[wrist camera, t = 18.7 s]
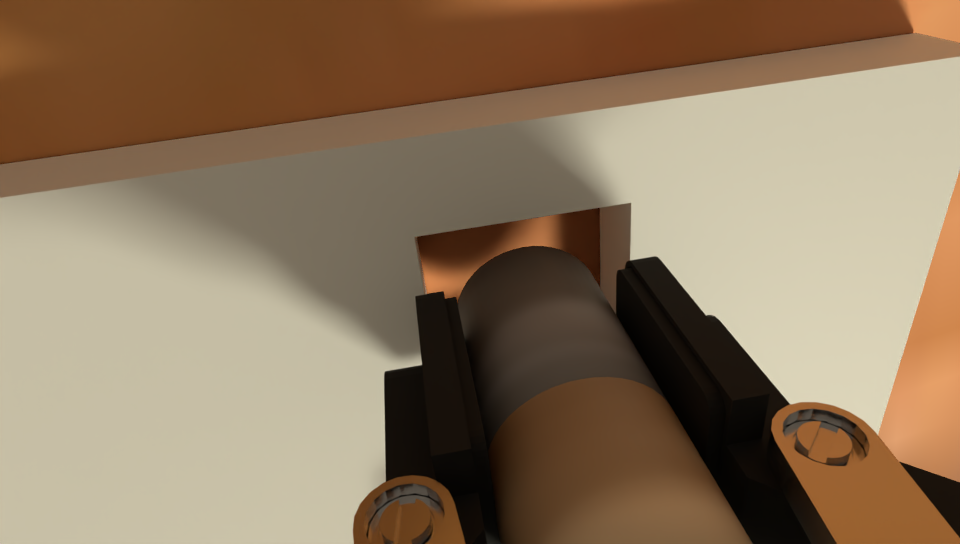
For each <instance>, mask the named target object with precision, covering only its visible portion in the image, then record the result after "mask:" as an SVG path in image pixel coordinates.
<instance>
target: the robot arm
mask: <svg viewBox="0 0 960 544" xmlns="http://www.w3.org/2000/svg"><path fill="white" fill-rule="evenodd" d="M415 301H416V311H417V321H418V330H419V340H420V350H421V360H422V365H419V366H413V367H407V368H402V369H396V370H390V371H385V373H384V406H385V463H386V482H384V483H382V484H381V485H379V486H378V487H377V488H375V489H374V490H372V491H371V492H370V493H369V494H368V495H367V496H366V497H365V499H364V500H363V501H362V502H361V503H360V505H359V507H358V509H357V512H356V514H355V516H354V523H353V540H354V544H500V539H499V534H498V529H497V524H496V508H495V501H494V494H493V487H492V479H491V472H490V465H489V458H488V452H487V446H486V440H485V435H484V429H483V425H482V420H481V415H480V410H479V405H478V401H477V396H476V391H475V386H474V381H473V376H472V372H471V367H470V362H469V357H468V352H467V348H466V343H465V338H464V333H463V328H462V323H461V319H460V314H459V309H458V304H457V299H456V297H453V298H447V299H445V297H444V292H437V293H431V294H425V295H419V296H415ZM616 315H617V317H618V319H619V320H620V322H621V324H622V325H623V327H624V329H625V330H626V332H627V334H628V335H629V337H630V339H631V340H632V342H633V344H634V345H635V347H636V349H637V350H638V352H639V354H640V355H641V357H642V359H643V360H644V362H645V364H646V366H647V367H648V369H649V371H650V372H651V374H652V376H653V377H654V379H655V381H656V382H657V384H658V386H659V387H660V389H661V391H662V392H663V394H664V396H665V397H666V399H667V401H668V402H669V404H670V406H671V407H672V409H673V411H674V412H675V414H676V416H677V418H678V419H679V421H680V423H681V424H682V426H683V428H684V429H685V431H686V433H687V434H688V436H689V438H690V439H691V441H692V443H693V444H694V446H695V448H696V449H697V451H698V453H699V454H700V456H701V458H702V459H703V461H704V463H705V464H706V466H707V468H708V469H709V471H710V473H711V475H712V476H713V478H714V480H715V481H716V483H717V485H718V486H719V488H720V490H721V491H722V493H723V495H724V496H725V498H726V500H727V501H728V503H729V505H730V506H731V508H732V510H733V511H734V513H735V515H736V516H737V518H738V520H739V521H740V523H741V525H742V527H743V528H744V530H745V532H746V533H747V535H748V537H749V538H750V540H751V542H752V543H753V544H960V482H957V481H954V480H951V479H948V478H945V477H942V476H939V475H936V474H934V473H931V472H928V471H925V470H922V469H919V468H916V467H913V466H910V465H908V464H905V463H902V462H899V461H898V460H897V459H896V457H895V456H894V455H893V454H892V452H891V451H890V450H889V449H888V447H887V446H886V445H885V444H884V442H883V441H882V440H881V439H880V437H879V436H878V435H877V434H876V432H875V431H874V430H873V429H872V428H871V427H870V426H869V425H868V424H867V423H866V422H865V421H864V420H862V419H860V418H859V417H857V416H856V415H854V414H852V413H851V412H849V411H846V410H844V409H841V408H839V407H836V406H833V405H829V404H824V403H818V402H799V403H795V404H791V405H790V403H789V402H788V401H787V400H786V399H785V397H784V396H783V395H782V394H781V393H780V391H779V390H778V389H777V388H776V387H775V386H774V384H773V383H772V382H771V381H770V380H769V378H768V377H767V376H766V375H765V374H764V372H763V371H762V370H761V369H760V368H759V366H758V365H757V364H756V363H755V362H754V361H753V359H752V358H751V357H750V356H749V355H748V353H747V352H746V351H745V350H744V349H743V347H742V346H741V345H740V344H739V343H738V341H737V340H736V339H735V338H734V337H733V335H732V334H731V333H730V332H729V331H728V330H727V328H726V327H725V326H724V325H723V324H722V322H721V321H720V320H719V319H718V318H716V317H715V316H713V315H705V314H704V312H703V311H702V310H701V309H700V307H699V306H698V305H697V304H696V303H695V301H694V300H693V299H692V298H691V296H690V295H689V294H688V293H687V292H686V290H685V289H684V288H683V287H682V285H681V284H680V283H679V282H678V281H677V279H676V278H675V277H674V276H673V274H672V273H671V272H670V271H669V269H668V268H667V267H666V266H665V265H664V263H663V262H662V261H661V260H660V259H659V258H658V257H657V256H654V257H648V258H641V259H635V260H629V261H627V262H626V265H625V269H621V270H618V271H617V274H616Z"/></svg>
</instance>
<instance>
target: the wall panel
mask: <svg viewBox="0 0 960 544" xmlns="http://www.w3.org/2000/svg"><path fill="white" fill-rule="evenodd" d="M959 170H960V43H958V42H954V41H950V40H945V39H941V38H936V37H932V36H928V35H923V34H919V33H911V34H905V35H898V36H891V37H884V38H877V39H870V40H863V41H856V42H849V43H842V44H835V45H828V46H821V47H814V48H807V49H800V50H793V51H786V52H779V53H772V54H765V55H758V56H751V57H745V58H738V59H731V60H724V61H717V62H710V63H703V64H696V65H689V66H682V67H675V68H668V69H661V70H654V71H647V72H640V73H633V74H626V75H619V76H612V77H605V78H598V79H591V80H584V81H578V82H571V83H564V84H557V85H550V86H543V87H536V88H529V89H522V90H515V91H508V92H501V93H494V94H487V95H480V96H473V97H466V98H459V99H452V100H445V101H438V102H431V103H424V104H418V105H411V106H404V107H397V108H390V109H383V110H376V111H369V112H362V113H355V114H348V115H341V116H334V117H327V118H320V119H313V120H306V121H299V122H292V123H285V124H278V125H271V126H264V127H257V128H251V129H244V130H237V131H230V132H223V133H216V134H209V135H202V136H195V137H188V138H181V139H174V140H167V141H160V142H153V143H146V144H139V145H132V146H125V147H118V148H111V149H104V150H97V151H91V152H84V153H77V154H70V155H63V156H56V157H49V158H42V159H35V160H28V161H21V162H14V163H7V164H0V544H354V540H353V523H354V516H355V514H356V512H357V509H358V507H359V505H360V503H361V502H362V501H363V500H364V499H365V497H366V496H367V495H368V494H369V493H370V492H371V491H372V490H374V489H375V488H377V487H378V486H379V485H381V484H382V483H384V482H386V463H385V406H384V373H385V371H390V370H396V369H402V368H407V367H413V366H419V365H422V360H421V350H420V340H419V330H418V321H417V311H416V301H415V296H419V295H425V294H427V292H426V286H425V280H424V275H423V269H422V263H421V258H420V252H419V246H418V241H417V237H418V236H424V235H430V234H437V233H443V232H449V231H456V230H462V229H468V228H474V227H481V226H487V225H493V224H500V223H506V222H512V221H519V220H525V219H531V218H538V217H544V216H550V215H556V214H563V213H569V212H575V211H582V210H588V209H594V208H600V288H601V290H602V292H603V293H604V295H605V297H606V298H607V300H608V302H609V303H610V305H611V307H612V309H613V310H614V312H615V314H616V274H617V271H618V270H621V269H625V265H626V262H627V261H629V260H635V259H641V258H648V257H654V256H657V257H658V258H659V259H660V260H661V261H662V262H663V263H664V265H665V266H666V267H667V268H668V269H669V271H670V272H671V273H672V274H673V276H674V277H675V278H676V279H677V281H678V282H679V283H680V284H681V285H682V287H683V288H684V289H685V290H686V292H687V293H688V294H689V295H690V296H691V298H692V299H693V300H694V301H695V303H696V304H697V305H698V306H699V307H700V309H701V310H702V311H703V312H704V314H705V315H713V316H715V317H716V318H718V319H719V320H720V321H721V322H722V324H723V325H724V326H725V327H726V328H727V330H728V331H729V332H730V333H731V334H732V335H733V337H734V338H735V339H736V340H737V341H738V343H739V344H740V345H741V346H742V347H743V349H744V350H745V351H746V352H747V353H748V355H749V356H750V357H751V358H752V359H753V361H754V362H755V363H756V364H757V365H758V366H759V368H760V369H761V370H762V371H763V372H764V374H765V375H766V376H767V377H768V378H769V380H770V381H771V382H772V383H773V384H774V386H775V387H776V388H777V389H778V390H779V391H780V393H781V394H782V395H783V396H784V397H785V399H786V400H787V401H788V402H789V403H790V405H791V404H795V403H799V402H818V403H824V404H829V405H833V406H836V407H839V408H841V409H844V410H846V411H849V412H851V413H852V414H854V415H856V416H857V417H859V418H860V419H862V420H864V421H865V422H866V423H867V424H868V425H869V426H870V427H871V428H872V429H873V430H874V431H875V432H876V434H877V435H878V432H879V429H880V426H881V423H882V419H883V416H884V413H885V410H886V406H887V403H888V400H889V397H890V394H891V390H892V387H893V384H894V381H895V377H896V374H897V371H898V368H899V364H900V361H901V358H902V355H903V351H904V348H905V345H906V342H907V339H908V335H909V332H910V329H911V326H912V322H913V319H914V316H915V313H916V309H917V306H918V303H919V300H920V297H921V293H922V290H923V287H924V284H925V280H926V277H927V274H928V271H929V267H930V264H931V261H932V258H933V254H934V251H935V248H936V245H937V242H938V238H939V235H940V232H941V229H942V225H943V222H944V219H945V216H946V212H947V209H948V206H949V203H950V199H951V196H952V193H953V190H954V187H955V183H956V180H957V177H958V174H959Z"/></svg>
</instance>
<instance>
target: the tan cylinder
mask: <svg viewBox="0 0 960 544" xmlns="http://www.w3.org/2000/svg"><path fill="white" fill-rule="evenodd" d="M458 309H459V314H460V319H461V323H462V328H463V333H464V338H465V343H466V348H467V352H468V357H469V362H470V367H471V372H472V376H473V381H474V386H475V391H476V396H477V401H478V405H479V410H480V415H481V420H482V425H483V429H484V435H485V440H486V446H487V452H488V458H489V465H490V472H491V479H492V487H493V494H494V501H495V508H496V524H497V529H498V534H499V539H500V544H753V543H752V542H751V540H750V538H749V537H748V535H747V533H746V532H745V530H744V528H743V527H742V525H741V523H740V521H739V520H738V518H737V516H736V515H735V513H734V511H733V510H732V508H731V506H730V505H729V503H728V501H727V500H726V498H725V496H724V495H723V493H722V491H721V490H720V488H719V486H718V485H717V483H716V481H715V480H714V478H713V476H712V475H711V473H710V471H709V469H708V468H707V466H706V464H705V463H704V461H703V459H702V458H701V456H700V454H699V453H698V451H697V449H696V448H695V446H694V444H693V443H692V441H691V439H690V438H689V436H688V434H687V433H686V431H685V429H684V428H683V426H682V424H681V423H680V421H679V419H678V418H677V416H676V414H675V412H674V411H673V409H672V407H671V406H670V404H669V402H668V401H667V399H666V397H665V396H664V394H663V392H662V391H661V389H660V387H659V386H658V384H657V382H656V381H655V379H654V377H653V376H652V374H651V372H650V371H649V369H648V367H647V366H646V364H645V362H644V360H643V359H642V357H641V355H640V354H639V352H638V350H637V349H636V347H635V345H634V344H633V342H632V340H631V339H630V337H629V335H628V334H627V332H626V330H625V329H624V327H623V325H622V324H621V322H620V320H619V319H618V317H617V315H616V314H615V312H614V310H613V309H612V307H611V305H610V303H609V302H608V300H607V298H606V297H605V295H604V293H603V292H602V290H601V288H600V287H599V285H598V283H597V282H596V280H595V278H594V277H593V275H592V273H591V272H590V270H589V269H588V268H587V267H586V266H585V264H584V263H583V262H581V261H580V260H579V259H578V258H576V257H575V256H573V255H571V254H570V253H567V252H565V251H563V250H560V249H556V248H552V247H545V246H530V247H522V248H517V249H513V250H510V251H507V252H504V253H502V254H500V255H498V256H496V257H494V258H493V259H491V260H489V261H488V262H486V263H485V264H484V265H483V266H481V267H480V268H479V269H478V270H477V271H476V272H475V273H474V274H473V275H472V276H471V278H470V279H469V280H468V281H467V283H466V285H465V286H464V288H463V290H462V292H461V295H460V297H459V300H458Z"/></svg>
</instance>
